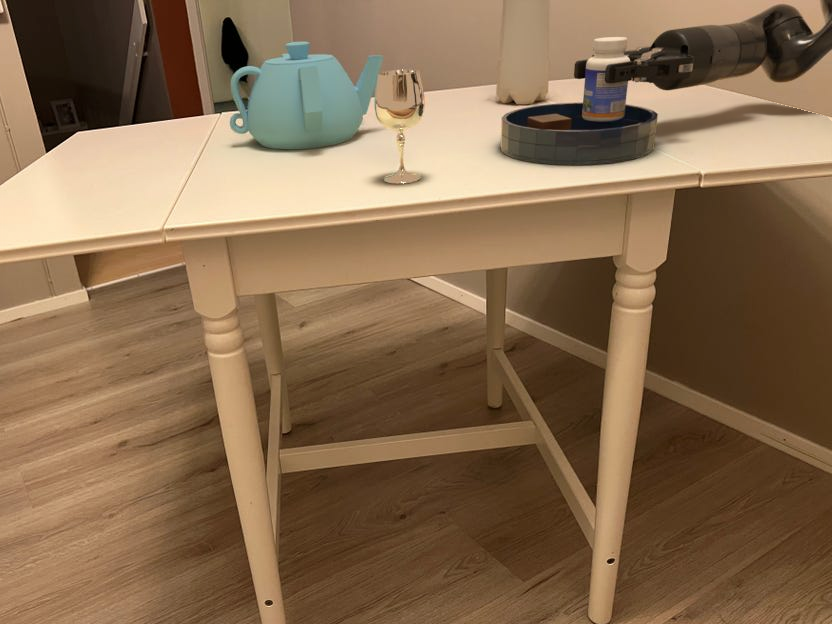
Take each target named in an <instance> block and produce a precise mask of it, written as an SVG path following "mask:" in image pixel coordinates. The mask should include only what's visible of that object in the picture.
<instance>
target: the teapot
mask: <svg viewBox="0 0 832 624" xmlns="http://www.w3.org/2000/svg"><path fill="white" fill-rule="evenodd" d="M284 46H285V49H286V51H287V53H281V57H274V58H270V59H267V60H265V61H264V62H263V63H262V65H261V67H260V68H259V67H256V66H253V65H247V66H243V67H240V68H239V69H237V70H236V71H235V72H234V73H233V74H232V76H231V79H230V85H229V86H230V92H231V95H232V98H233V100H234V102H235V105H236V108H237V111H238V113H237V112H236V113H233V115H231V116H230V119H229V127H230V130H231V131H233V132H234V133H236V134H238V135H244V134H246V133H249V134H250V135H251V136H252V137H253V138H254V139H255V141H256V142H258V143H259V145H261V146H262V147H265V148H269V149H274V150H306V149H315V148H316V149H317V148H322V147H328V146H329V147H330V146H334V145H339V144H342V143H345V142H347V141H349V140H351V139H352V138H353V137H354V136H355V134H356V133H357V132H358V130H359V128H360V127H361V125H362V123H363V120H364V117H363V116H364V115H367V113H368V110H369V106H370V103H371V100H372V96H373V93H374V91H375V88H376V81H377V76H378V73H380V70H381V67H382V63H383V61H384V55H382V54H380V55H379V54H378V55H368V57H367V58H368V59H367V61H366V63H365V65H364V67H363V69H362V71H361V73H360V76H359V77H358V80H357V82H356V85H354V83H353V81H352V80H351V78H350V76H349V75H348V73H347V72H346V70H345V69H344V67H343V66H342V64H341V63H340V62H339V60H338V59H337V58H336V57H335V56H334V55H333V54H323V53H321V54H320V53H318V54H316V53H315V54H309V52H310V51H309V50H310V47H311V42H309V41H292V42H288V43H285V45H284ZM246 75H254V76H256V77H255V80H254V83H253V85H252V87H251V90H250V93H249V98H248V101H247V108H246V105H245V104H244V101H243V99H242V96H241V93H240V89H239V81H240V79H241V78H242V77H244V76H246ZM238 119H241V120H242V125H241V126H240V125H238V124H237V120H238Z"/></svg>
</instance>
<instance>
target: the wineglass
mask: <svg viewBox="0 0 832 624" xmlns="http://www.w3.org/2000/svg"><path fill="white" fill-rule="evenodd" d="M424 91H425V90H424V86H423V81H422V77H421V73H420V70H418V69H411V68H410V69H407V68H405V69H391V70H384V71H381V72H380V71H379V73H378V76H377V80H376V84H375V88H374V111H375V112H374V113H375V117H376V118H377V121H378V122H379V124H380V125H382V126H383V127H384V128H386V129H389V130H391V131H395V132H397V135H396V145H397V147H398V153H399V155H398V156H399V167H398V170H397V171H396V172H395V173H391V174H388V175H386V176H384V178H383V181H384V182H386V183H388V184H394V185H396V184H397V185H400V184H401V185H402V184H410V183H415V182H418V181H420V180H421V178H422V177H421V175H420V174H418V173H414V172H409V171H407V170H406V168H405V163H404V148H405V143H406V137H405V135H404V131H407V130H410V129H413V128H414V127H416V126H417V125H418V124H419V123H420V121H422V118H423V117H424V114H425V107H426V101H425V92H424Z"/></svg>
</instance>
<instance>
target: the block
mask: <svg viewBox="0 0 832 624" xmlns="http://www.w3.org/2000/svg"><path fill="white" fill-rule="evenodd" d="M571 120H572V119H571V118H568V117H565V116H562V115H558V114H549V115H541V116H533V117H528V121H527V127H529V128H536V129H549V130H571Z"/></svg>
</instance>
